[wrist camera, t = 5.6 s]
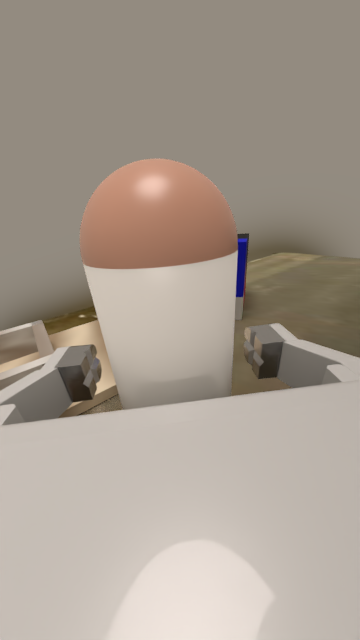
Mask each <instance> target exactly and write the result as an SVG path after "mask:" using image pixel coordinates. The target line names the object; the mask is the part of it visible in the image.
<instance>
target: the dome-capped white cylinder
mask: <svg viewBox="0 0 360 640" xmlns="http://www.w3.org/2000/svg"><path fill="white" fill-rule="evenodd" d="M80 252H81V257H82V262H83V265H84V269H85V273H86V276H87V280H88V284H89V287H90V291H91V295H92V298H93V302H94V306H95V309H96V313H97V317H98V320H99V324H100V328H101V331H102V335H103V339H104V342H105V346H106V350H107V353H108V357H109V361H110V364H111V368H112V372H113V375H114V379H115V383H116V386H117V390H118V394H119V397H120V401H121V405H122V408H123V410H127V409H135V408H143V407H151V406H159V405H167V404H174V403H182V402H190V401H198V400H206V399H214V398H222V397H229V396H231V385H232V364H233V343H234V322H235V300H236V279H237V258H238V236H237V230H236V224H235V221H234V217H233V214H232V212H231V209H230V207H229V205H228V203H227V201H226V200H225V198H224V196H223V195H222V193H221V192H220V191H219V190H218V188H217V187H216V186H215V185H214V184H213V183H212V182H211V181H210V180H209V179H208V178H207V177H206V176H205V175H203V174H202V173H200V172H199V171H197V170H196V169H194V168H192V167H190V166H188V165H185V164H183V163H180V162H177V161H172V160H168V159H145V160H139V161H136V162H133V163H130V164H128V165H125V166H123V167H121V168H120V169H118V170H117V171H115V172H113V173H112V174H110V175H109V176H108V177H107V178H106V179H105V180H104V181H103V182H102V183H101V184H100V185H99V186H98V188H97V189H96V190H95V191H94V193H93V194H92V196H91V198H90V200H89V202H88V203H87V206H86V209H85V211H84V214H83V218H82V222H81V228H80Z"/></svg>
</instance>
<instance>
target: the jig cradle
mask: <svg viewBox="0 0 360 640" xmlns="http://www.w3.org/2000/svg"><path fill="white" fill-rule="evenodd" d="M90 344H94V345H95V347H96V350H97V354H96V358H98V359H99V360H100V363H101V368H102V373H101V378H100V381H99V382H98V383H96V386H97V390H96V392H95V395H94V398H93V400H87V401H80V402H73V403H72V404H71V405H70V406H69V407H68V408H67V409H66V410H65V411H64V412H63V413H62V414H61V415H60V416H59V417H58V418H64V417H72V416H77V415H79V414H81V413H83V412H85V411H87V410H88V409H90V408H92V407H94V406H96V405H98V404H100V403H102V402H104V401H105V400H107V399H109V398H111V397H113V396H115V395H117V394H118V390H117V386H116V383H115V379H114V375H113V372H112V368H111V364H110V361H109V357H108V353H107V350H106V346H105V342H104V339H103V335H102V331H101V328H100V324H99V320H96V321H93V322H90V323H87V324H84V325H80V326H77V327H74V328H71V329H68V330H65V331H62V332H59V333H55V334H52V335H49V336H48V334H47V332H46V329H45V327H44V325H43V322H42V320H39V321H36V322H32V323H28V324H25V325H21V326H18V327H14V328H11V329H7V330H3V331H0V391H1V390H3V389H4V388H6V387H8V386H10V385H11V384H13V383H15V382H17V381H18V380H20V379H22V378H24V377H26V376H27V375H29V374H31V373H33V372H34V371H36V370H41V368H42V367H43V366H44V365H45V363H46V362H47V361H48V359H49V358H50V357H51V356H52V354H53V353H54V352H55V351H56V349H57V348H60V347H67V346H79V345H90Z"/></svg>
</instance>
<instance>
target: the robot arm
mask: <svg viewBox="0 0 360 640" xmlns="http://www.w3.org/2000/svg"><path fill="white" fill-rule="evenodd" d="M244 336H245V337H246V339H247V340H246V342H245V343H244V355H245V358H246V360H247V362H248V363H249V364H251V365H252V370H253V372H254V373H255V375H256V376H257V378H258V379H264V378H274V377H277V378H278V379H279V380H281V381H283V382H284V383H286V384H287V385H289V386H290V387H292V389H284V390H276V391H269V392H261V393H253V394H245V395H237V396H229V397H222V398H214V399H206V400H198V401H190V402H182V403H174V404H167V405H159V406H151V407H143V408H135V409H127V410H119V411H112V412H104V413H96V414H88V415H80V416H72V417H64V418H58V417H59V416H60V415H61V414H62V413H63V412H64V411H65V410H66V409H67V408H68V407H69V406H70V405H71V404H72V403H73V402H80V401H87V400H93V398H94V395H95V392H96V390H97V386H96V383H98V382H99V381H100V378H101V373H102V368H101V363H100V360H99V359H98V358H96V354H97V350H96V347H95V345H94V344H90V345H79V346H67V347H60V348H57V349H56V351H55V352H54V353H53V354H52V356H51V357H50V358H49V359H48V361H47V362H46V363H45V365H44V366H43V367H42V368H41V370H36V371H34V372H33V373H31V374H29V375H27V376H26V377H24V378H22V379H20V380H18V381H17V382H15V383H13V384H11V385H10V386H8V387H6V388H4V389H3V390H1V391H0V640H360V358H357V357H354V356H351V355H348V354H345V353H342V352H339V351H336V350H333V349H330V348H326V347H323V346H320V345H317V344H314V343H311V342H308V341H305V340H298V339H297V338H296V337H295V336H293V335H292V334H291V333H290V332H289V331H288V330H286V329H285V328H284V327H283V326H282V325H281V324H279V323H275V324H268V325H260V326H253V327H247V328H246V329H245V335H244Z"/></svg>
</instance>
